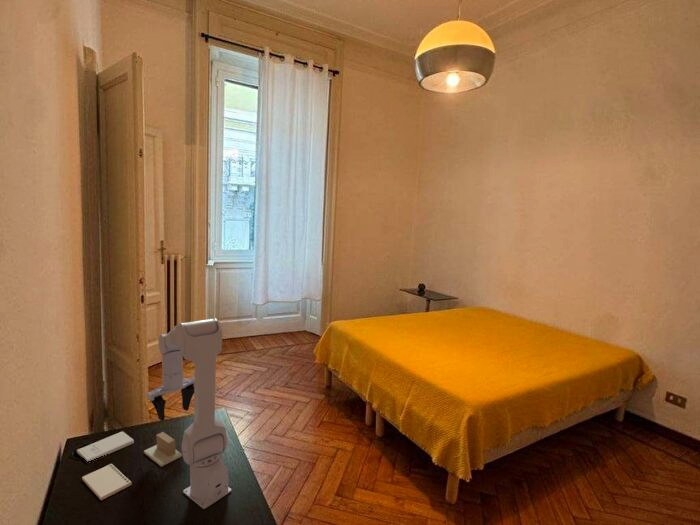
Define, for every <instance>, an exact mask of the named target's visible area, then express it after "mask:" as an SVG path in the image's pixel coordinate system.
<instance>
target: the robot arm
mask: <svg viewBox="0 0 700 525" xmlns="http://www.w3.org/2000/svg"><path fill="white" fill-rule="evenodd" d="M222 347H223V329H222V324H221V322H220V321H219V319H218V318H216V317H211V318H208V319H201V320H194V321H187V322H178V323H177V324H176V325H174V326H173V328H172V329H170V331H169V332H168V333H160V334H159V336H158V349H159V352H160V354H161V376H162V378H161V379H162V385H160V386H159V387H157V388H155V389H154V390H150V391H149V392H147V393H146V395H147V399H146V400H149V401H150V403H152V405H153V407H154V409H155V411H156V414H157V418H158V420H160V421H162V422H163V421H165V408H166V402H167V400H165V399H164V397H163V396H166V395H169V394H171V393H176V392H178V391H180V392H181V397H182V398H181V399H182V400H181V402H182V403H181V404H182V405H181V406H182V409H183V410H184V411H186V412H187V411H189V408H190V404H191V401H192V398H193V397H194V400H193V404H194V405H193V422H192V423H190V425H189V426H187V428H186V429H185V430H184V431H183V438H182V442H181V454H182V458H183V461H184V463H186V464H187V465H188V466H189V482H190V485H189V486H188V487H186V488H185V489H183V490H182V493H183V494H185V496H186V497H188V498H189V499H190V500H192V501H193V502H194V503H195V504H197V505H198V506H199V507H200V508H201V509H203V510H205V509H207V508H208V507H211V506H212V505H213V504H214V503H216V502H218V501H219V500H221V499H222V498H223V497H225V496H227V495H228V494H229V493H231V492H232V488H230V487H229V469H228V468H227V466H226V465H225V464H224V463H223V460H222V459H221V458H222V457H223V456H224V454H223V453H225V452H226V450H227V448H228V446H229V445H228V436H227V428H226V425H225V424H224V422H223V421H222V420H220V419H218V418H216V414H215V413H216V372H217V370H216V367H217V356H218V355H219V354H221V352H222V349H223V348H222ZM183 358H184V359H185V360H187V361H190V362H192V363H193V364H194V374H193V375H194V376H193V377H190V378H184V360H183Z"/></svg>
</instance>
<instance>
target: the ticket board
mask: <svg viewBox="0 0 700 525" xmlns="http://www.w3.org/2000/svg"><path fill="white" fill-rule="evenodd" d="M81 479H82V481H83V482H84V483H85V485H86V486H87V487H88V488H89V489H90V490H91V491H92V492H93V493H94V494H95V495H96V497H97V498H98V499H99V500H100V501H103V500H104V499H107V498H108V497H110V496H112V495H115V494H117V493H118V492H119V493H120V491H122V490H125V489H126V488H128V487H130V486H132V481H131V480H130V479H129V478H128V477H126V476H125V475H124V474H123V473H122V472H121V471H120V470H119V469H118V468H117V467H116V465H114V464H113V463H109V464H107V465H106V466H104V467H102V468H99V469H97V470H95V471H94V470H93V471H92V472H89V473H87V474H85V475H84V476H82V477H81Z"/></svg>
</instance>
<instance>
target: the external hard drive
mask: <svg viewBox="0 0 700 525" xmlns="http://www.w3.org/2000/svg"><path fill="white" fill-rule="evenodd" d="M132 444H133V445H134V444H135V440H134V438H132V437H131V436H130V435H129V434H127V433H126V432H125V431H123V430H122V431H120V432H118V433H115V434H112V435H110V436H107V437H105V438H103V439H100V440H97V441H96V442H94V443H93V442H92V443H90V444H88V445H86V446H83V447H81V448H77V449H76V453H77V454H78V456H80V458H81V457H82V459H83V458H84V459H85V460H86V461H87V462H88V461H91V460H94V459H96V458H99V457H101V456H103V457H105V456H108V455H111V454H112V453H114V452H116V451H119V450H121V449H124V448H126V447H128V446H131V445H132ZM107 454H108V455H107ZM104 455H105V456H104ZM101 458H102V457H101ZM84 459H83V460H84ZM99 459H100V458H99ZM85 460H84V461H85ZM96 460H97V459H96ZM86 461H85V462H86ZM94 461H95V460H94ZM87 462H86V463H87Z"/></svg>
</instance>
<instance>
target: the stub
mask: <svg viewBox="0 0 700 525" xmlns="http://www.w3.org/2000/svg"><path fill="white" fill-rule="evenodd" d="M155 437H156V444H155V445H153V446H151V447H149V448H147V449H145V450H143V454H144V455H146V456H147V457H149V459H151V460H152V461H153V462H154V463H156V464H157V465H159V467H164V466H165V465H167V464H169V463H172V462H174V461H176V460H177V459H180V458H181V457H183V455H182V452H180V451H178V449H177V448H176V439H174V438H173V437H171V436H170V435H169V434H167V433H166V432H165V431H161V432H160V433H157V434H156V435H155Z"/></svg>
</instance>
